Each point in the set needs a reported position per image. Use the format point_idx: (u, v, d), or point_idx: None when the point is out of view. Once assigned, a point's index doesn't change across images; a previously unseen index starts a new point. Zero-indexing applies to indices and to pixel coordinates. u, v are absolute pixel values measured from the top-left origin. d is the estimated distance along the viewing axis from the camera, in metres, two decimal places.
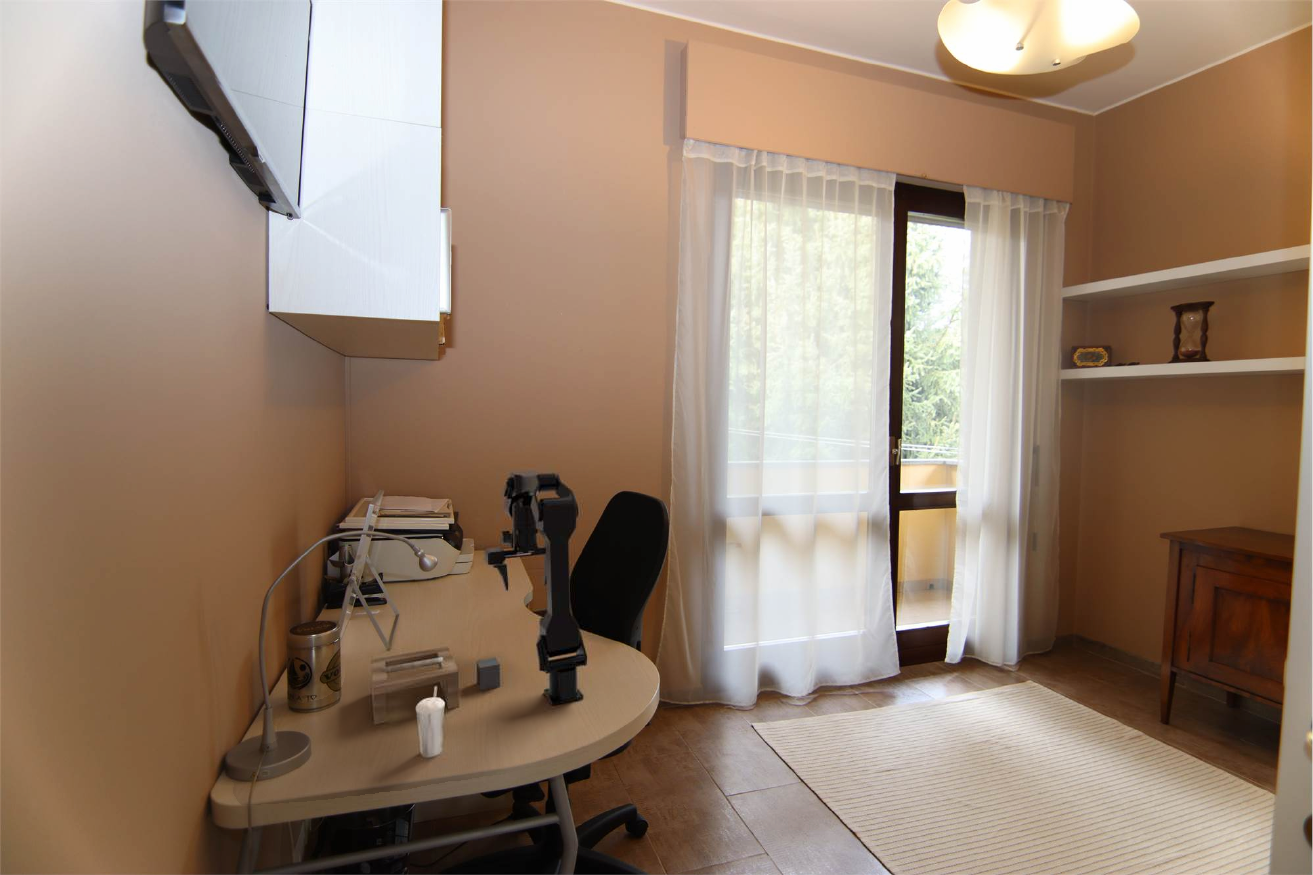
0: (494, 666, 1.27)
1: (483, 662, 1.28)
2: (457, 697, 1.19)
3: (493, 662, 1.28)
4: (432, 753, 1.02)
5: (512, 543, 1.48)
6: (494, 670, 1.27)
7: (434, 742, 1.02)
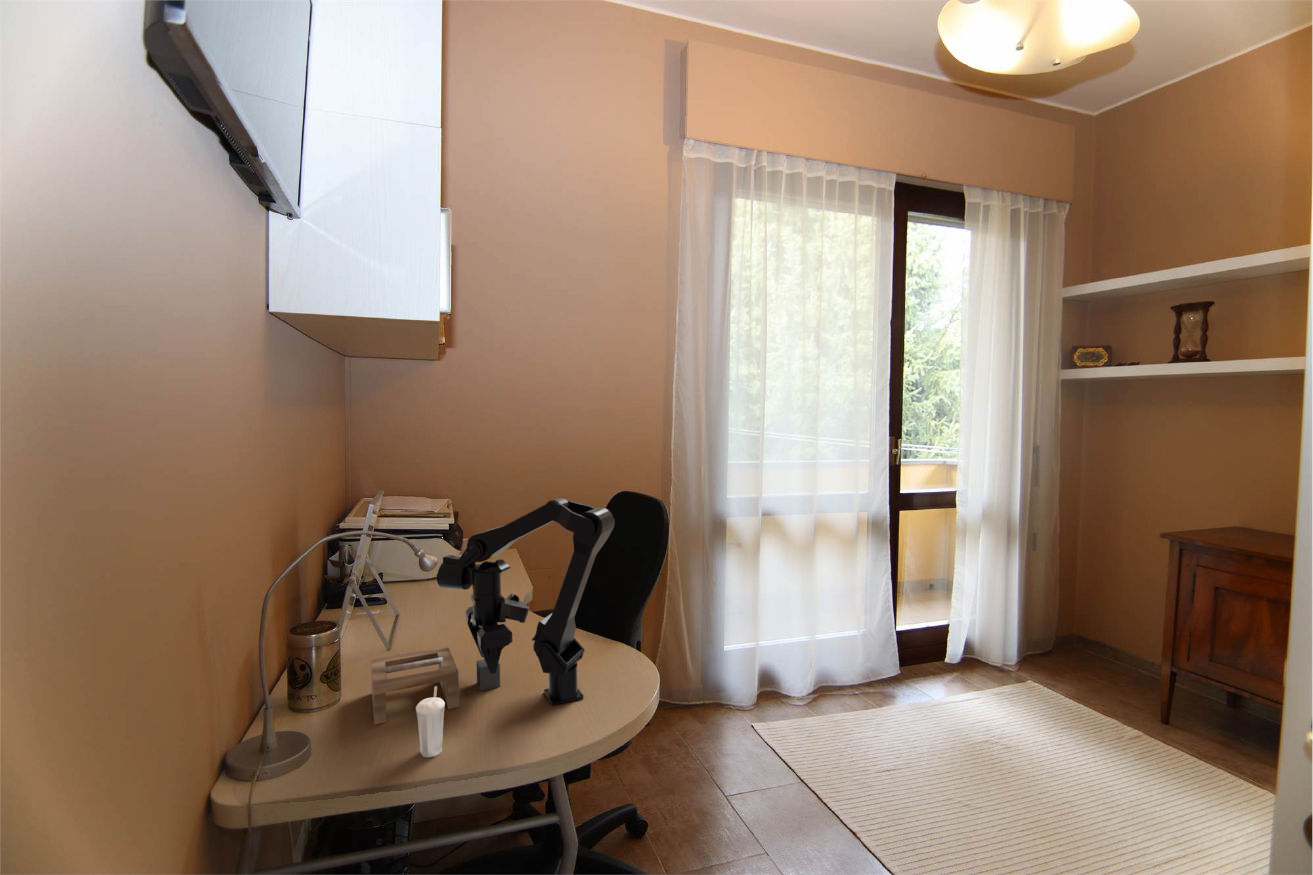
0: None
1: (483, 662, 1.28)
2: (457, 697, 1.19)
3: None
4: (432, 753, 1.02)
5: None
6: None
7: (434, 742, 1.02)
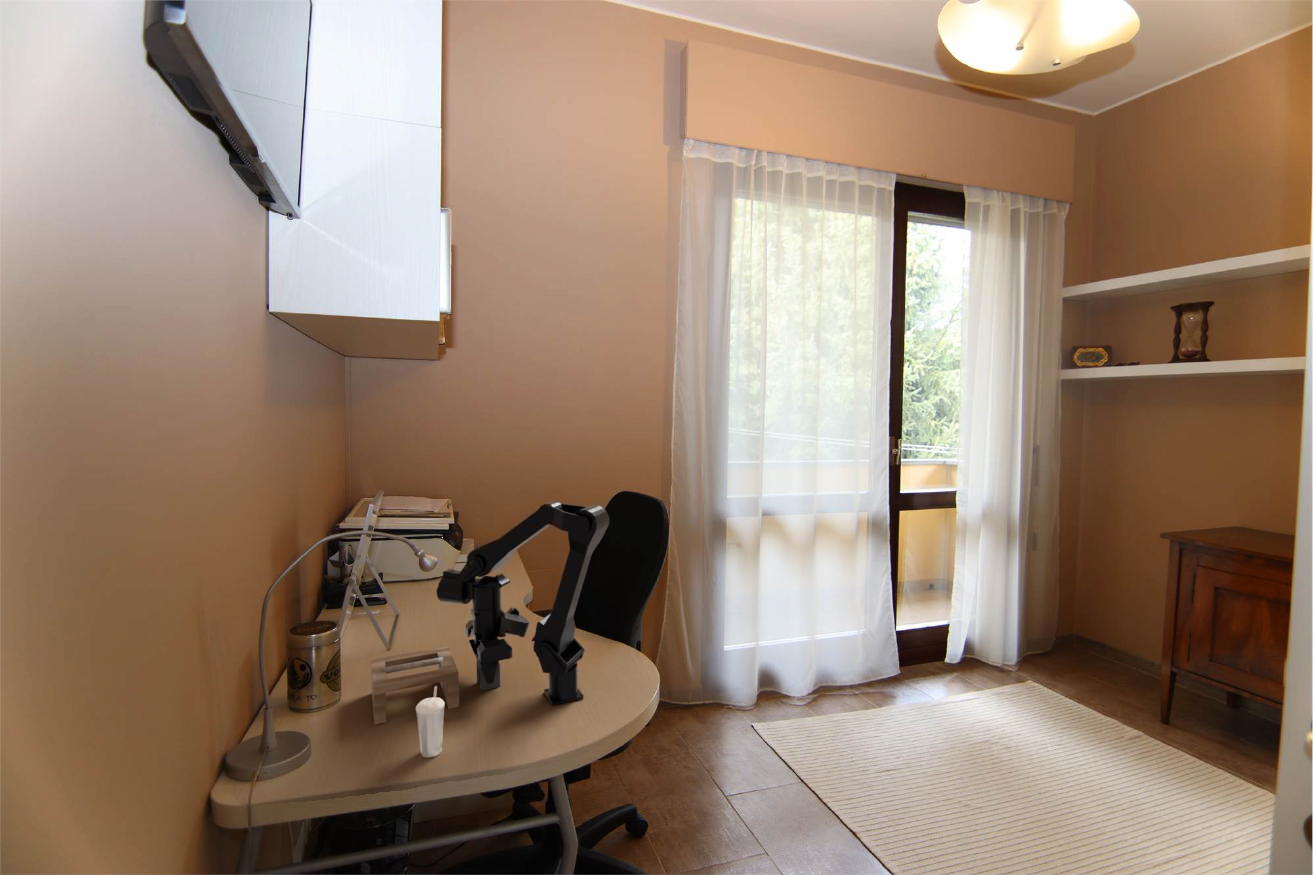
0: None
1: None
2: (457, 697, 1.19)
3: None
4: (432, 753, 1.02)
5: None
6: None
7: (434, 742, 1.02)
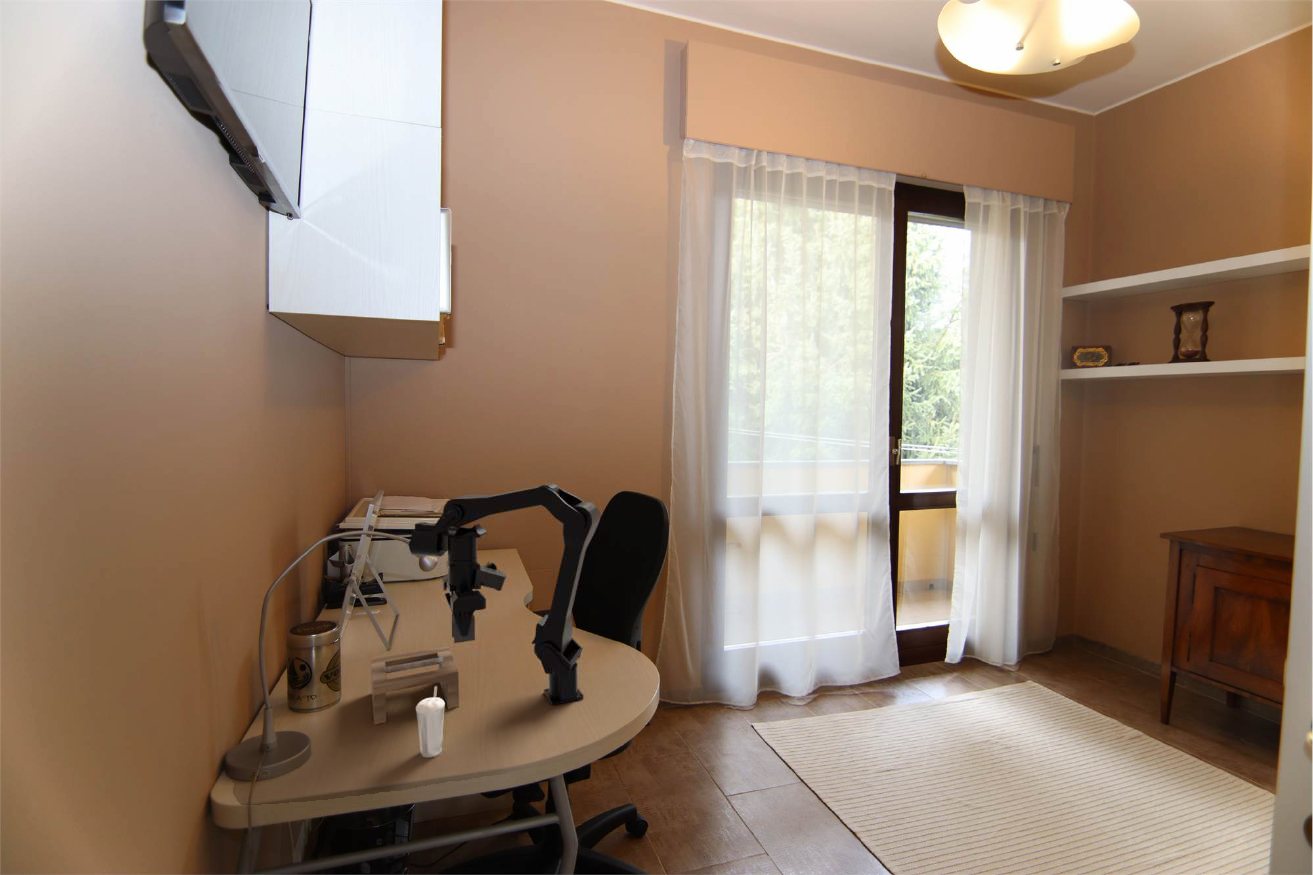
0: None
1: None
2: (457, 697, 1.19)
3: None
4: (432, 753, 1.02)
5: None
6: None
7: (434, 742, 1.02)
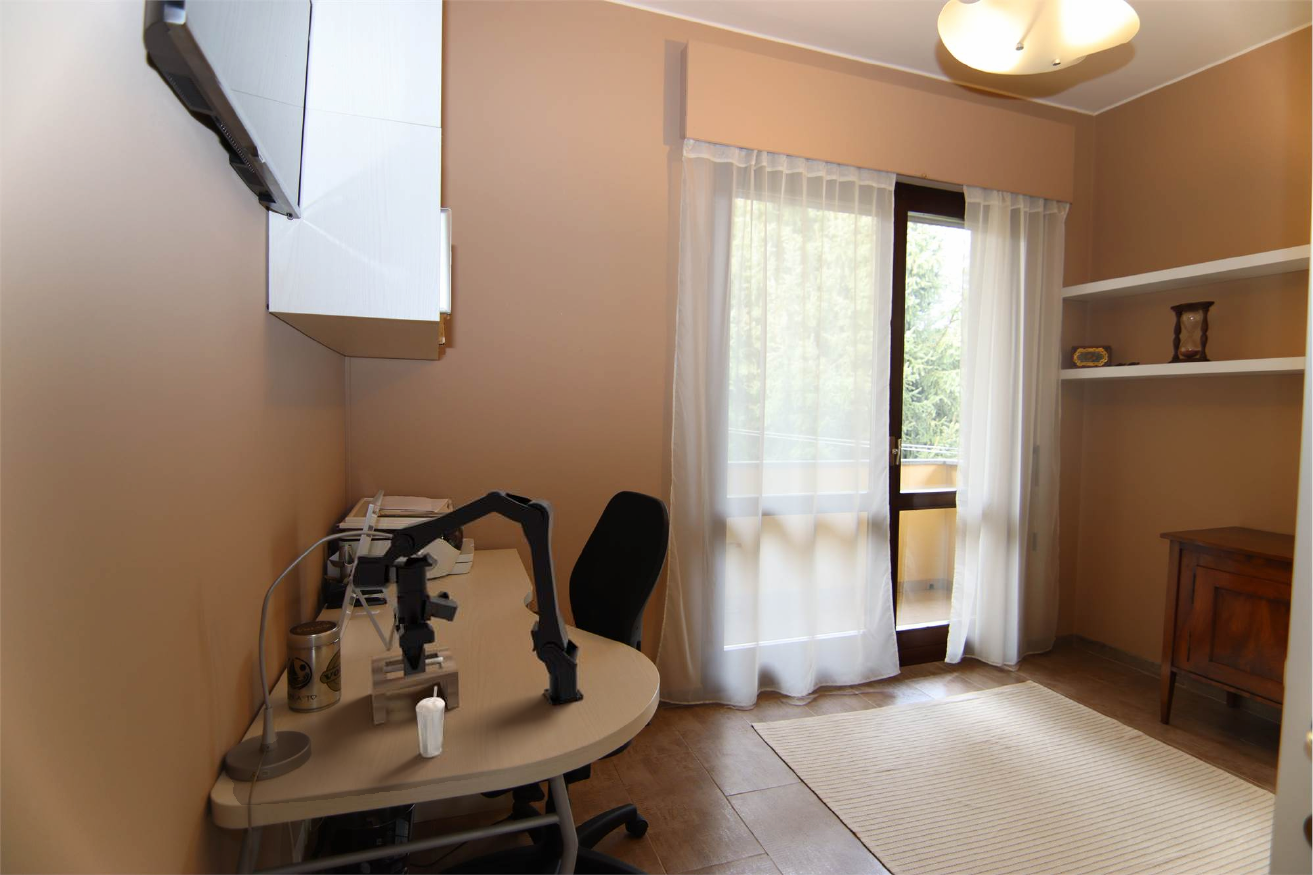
0: None
1: None
2: (457, 697, 1.19)
3: None
4: (432, 753, 1.02)
5: None
6: None
7: (434, 742, 1.02)
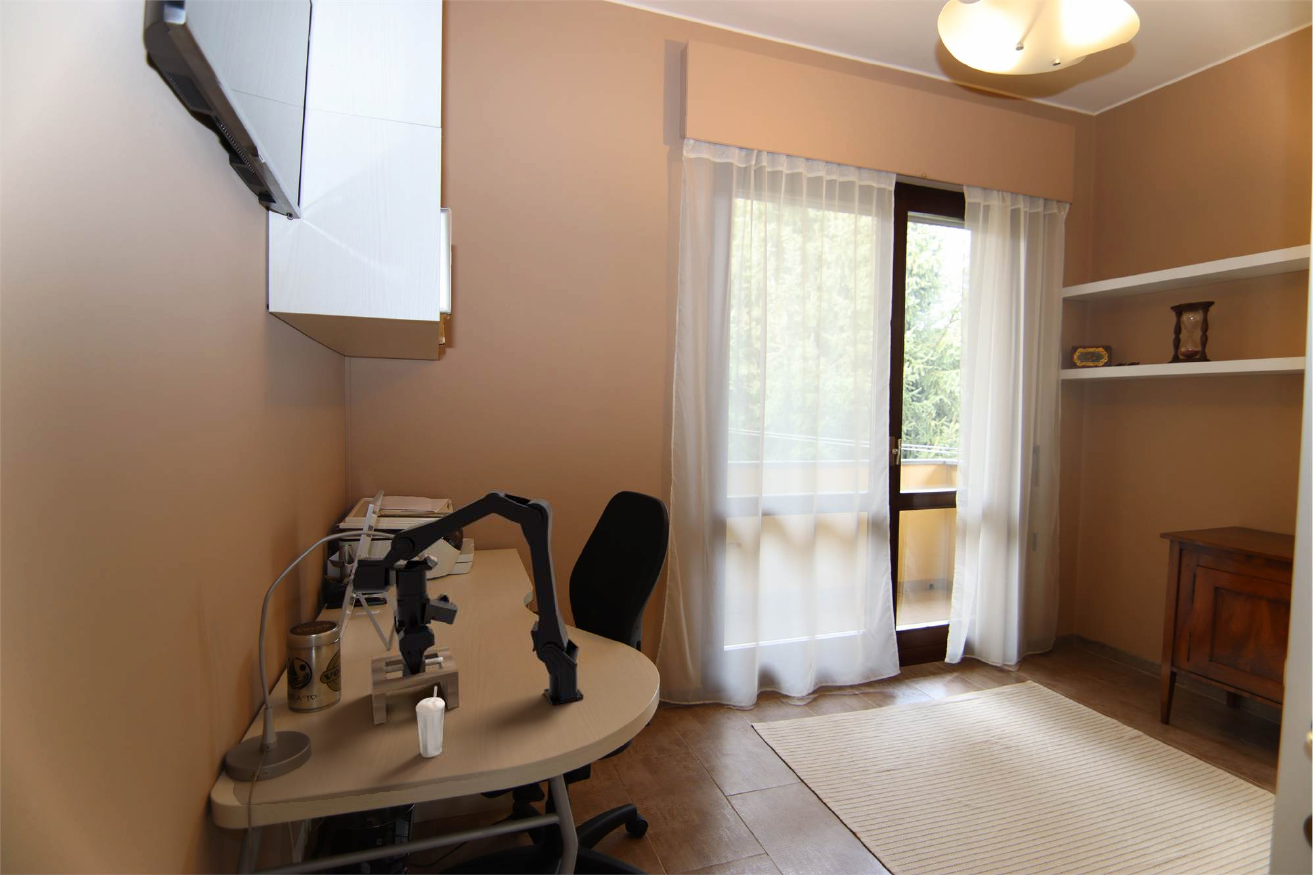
0: None
1: None
2: (457, 697, 1.19)
3: None
4: (432, 753, 1.02)
5: None
6: None
7: (434, 742, 1.02)
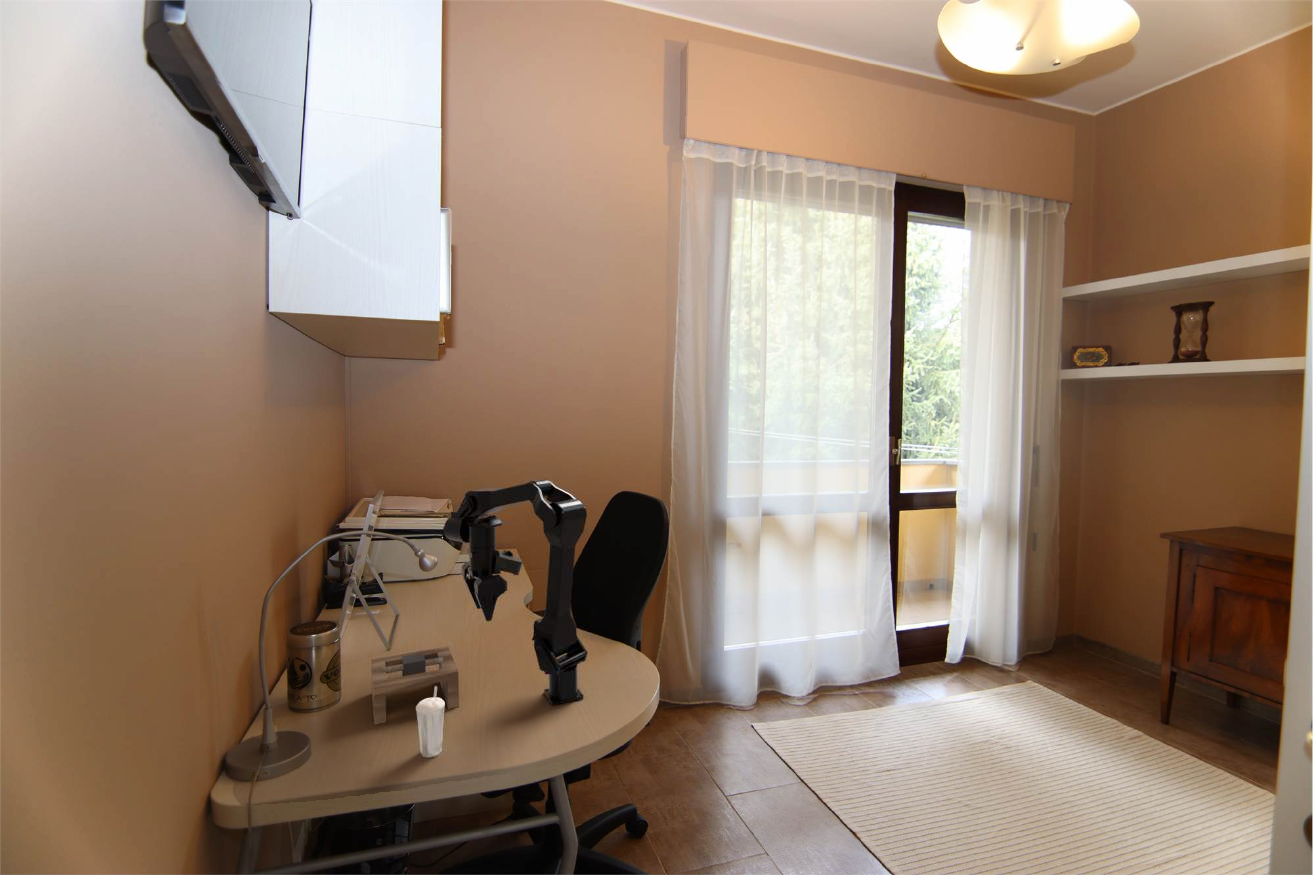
0: (419, 662, 1.20)
1: (408, 658, 1.21)
2: (457, 697, 1.19)
3: (418, 658, 1.22)
4: (432, 753, 1.02)
5: None
6: (419, 666, 1.20)
7: (434, 742, 1.02)
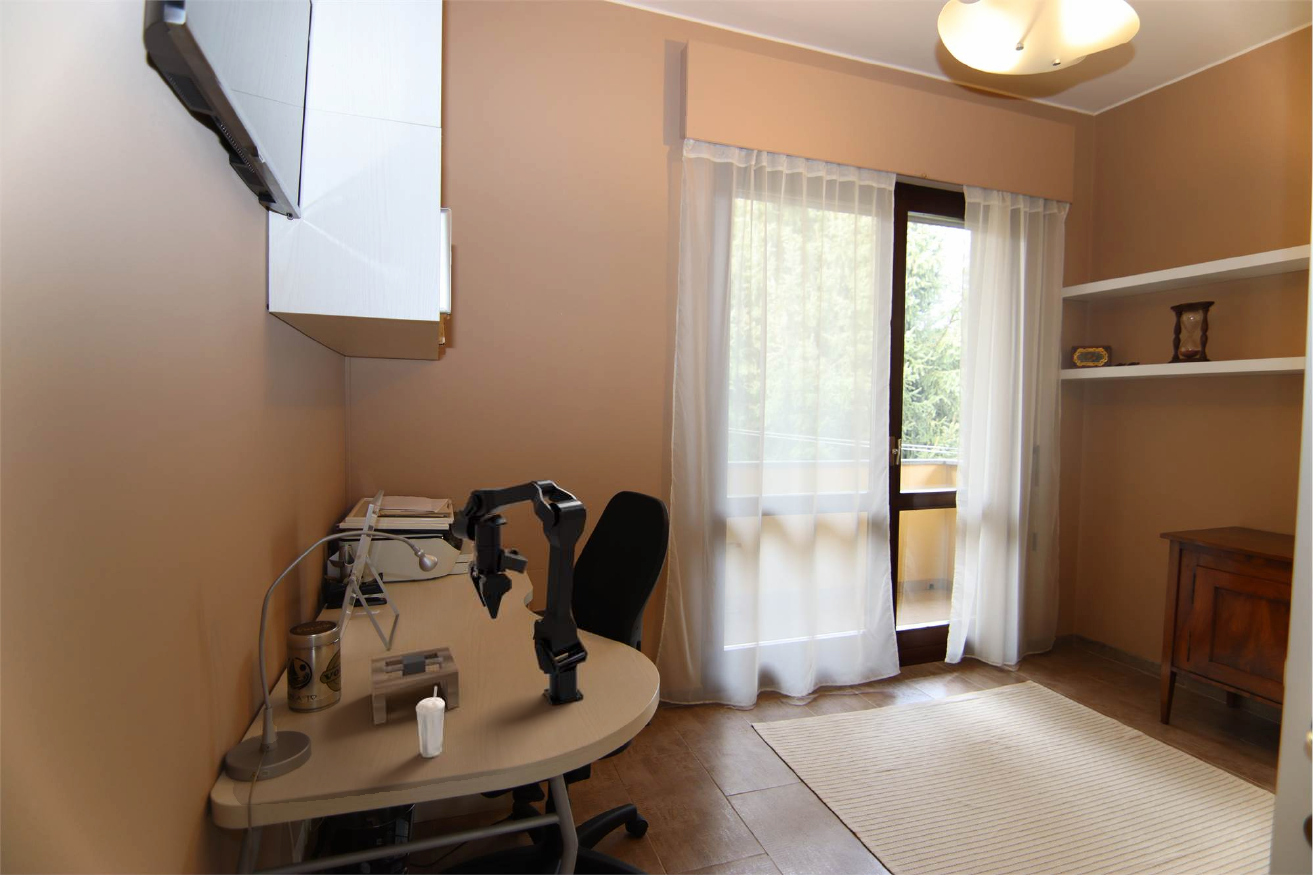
0: (419, 662, 1.20)
1: (408, 658, 1.21)
2: (457, 697, 1.19)
3: (418, 658, 1.22)
4: (432, 753, 1.02)
5: None
6: (419, 666, 1.20)
7: (434, 742, 1.02)
